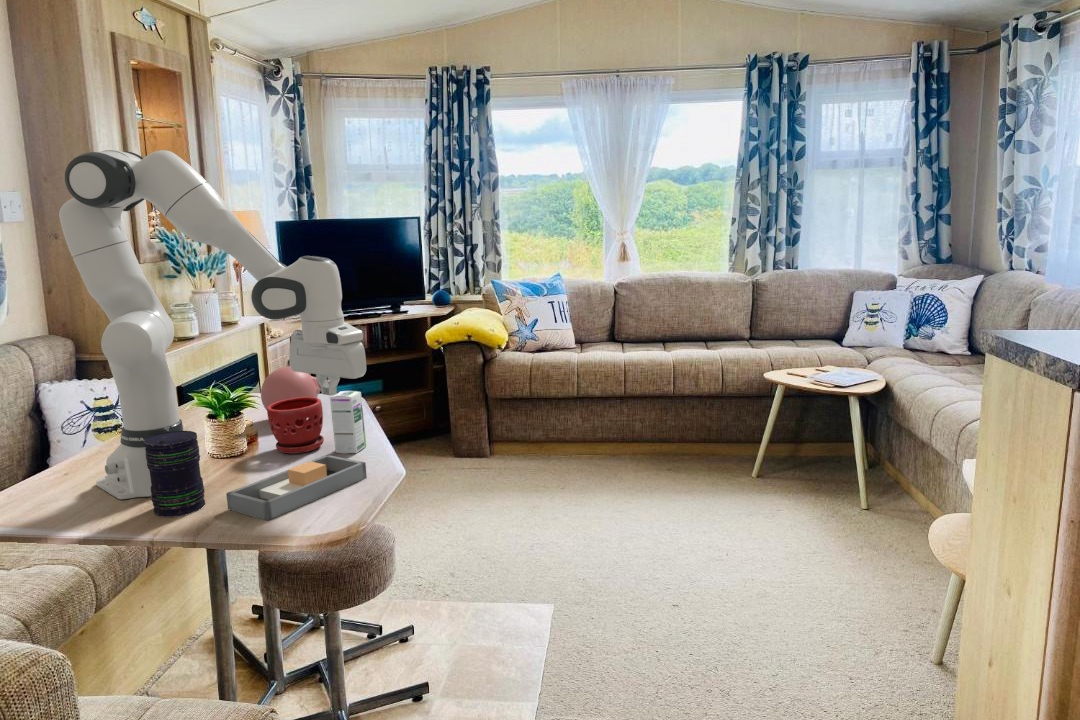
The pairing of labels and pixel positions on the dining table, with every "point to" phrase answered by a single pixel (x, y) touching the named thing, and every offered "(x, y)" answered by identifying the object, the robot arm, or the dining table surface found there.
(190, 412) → the dining table surface
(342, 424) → the syrup box
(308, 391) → the balloon
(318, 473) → the wooden block
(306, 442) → the plant pot
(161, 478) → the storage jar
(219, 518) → the dining table surface
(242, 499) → the tray box
